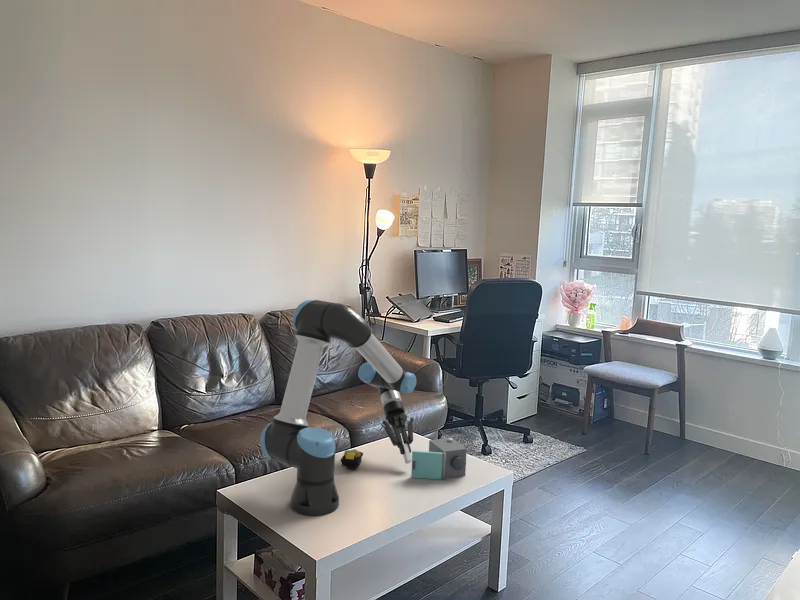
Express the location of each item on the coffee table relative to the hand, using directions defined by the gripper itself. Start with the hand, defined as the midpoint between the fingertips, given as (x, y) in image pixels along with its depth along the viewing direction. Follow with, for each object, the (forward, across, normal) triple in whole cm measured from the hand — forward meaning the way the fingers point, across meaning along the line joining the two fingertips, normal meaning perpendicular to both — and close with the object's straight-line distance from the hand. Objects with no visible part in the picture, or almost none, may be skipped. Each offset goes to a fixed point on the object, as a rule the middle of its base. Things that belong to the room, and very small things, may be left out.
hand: (408, 461), depth 220 cm
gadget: (-6, +17, -11) cm, 21 cm away
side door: (+8, -4, +4) cm, 10 cm away
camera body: (+5, -14, 0) cm, 15 cm away
